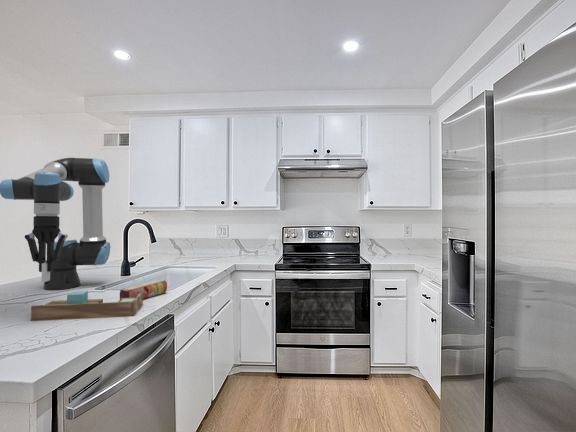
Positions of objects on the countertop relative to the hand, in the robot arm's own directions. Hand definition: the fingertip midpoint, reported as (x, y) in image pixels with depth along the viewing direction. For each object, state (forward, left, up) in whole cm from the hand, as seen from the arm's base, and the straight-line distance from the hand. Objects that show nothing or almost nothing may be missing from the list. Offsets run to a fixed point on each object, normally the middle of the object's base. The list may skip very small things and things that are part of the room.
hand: (45, 280), depth 116 cm
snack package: (-22, +29, -13) cm, 39 cm away
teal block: (-1, +10, -10) cm, 14 cm away
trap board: (-4, +13, -13) cm, 19 cm away
